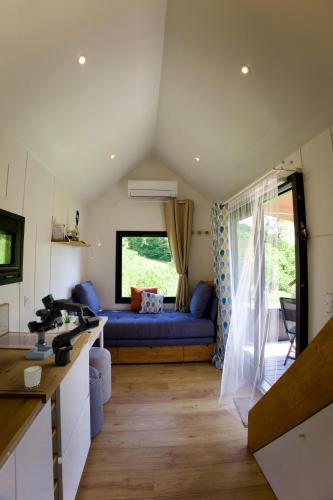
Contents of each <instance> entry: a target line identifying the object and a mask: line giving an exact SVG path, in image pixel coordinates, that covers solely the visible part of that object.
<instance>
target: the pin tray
mask: <svg viewBox="0 0 333 500" xmlns="http://www.w3.org/2000/svg"><path fill="white" fill-rule="evenodd" d="M53 355H55V354H54V353H53V350H52V345H46V346H43V347H36V346H35V347H32V348H31V349H29V350H27V351H25V359H27V360H42V361H44V360H46V359H48V358H49V357H51V356H53Z"/></svg>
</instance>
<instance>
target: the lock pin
mask: <svg viewBox="0 0 333 500" xmlns="http://www.w3.org/2000/svg"><path fill="white" fill-rule="evenodd" d="M42 330H43V331H42V332H41V333H39V334H38V335H37V342H36V343H35V344H34V345H35V347H43V346H48V342H46V339H45V338H46V335H45V334H46V332H45V327H43V329H42Z"/></svg>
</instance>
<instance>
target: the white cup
mask: <svg viewBox="0 0 333 500" xmlns="http://www.w3.org/2000/svg"><path fill="white" fill-rule="evenodd" d="M42 369H43V367H42V366H41V365H32V366H29V367H26V368H25V369H24V370H23V377H24V387H25V386H26V387H33V386H36V385H38V384H39V383H40V384H41V376H42V371H43V370H42ZM40 384H39V385H40Z"/></svg>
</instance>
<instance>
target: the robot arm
mask: <svg viewBox="0 0 333 500" xmlns="http://www.w3.org/2000/svg"><path fill="white" fill-rule="evenodd" d="M41 303H42V304H43V307H44V308H40V309H37V310H36V311H35V316H36V317H39V318H40V320H39V322H38V321H37V320H32V321H28V323H27V324H26V325H27V328H28V330H29V333H30V334H36V335H37V336H38V334H39V333H41V332H42V331H43V330H42V329H43V327H45V333H47V332H49V331H52V330H54V329H56V328H61V327H62V326H63V325H64V321H63V318H62V317H63V314H62V311H68V312H72V313H77V315H78V316H77V317H78V318H77V321H78V325H77V326H75V327H74V328H73V329H71V330H69V331H68V332H67V331H66V332H64V333H59V334H57V335H56V336H54V337H53V339H52V340H51V345H50V346H52V350H53V353H54V354H53V355H54V363H53V366H56V367H57V366H59V367H66V366H68V365H69V364H70V363H71V362H72V360H71V359H70V356H71V351H73V349H74V345H73V344H72V341H73V340H74V339H76V338H77V337H80V335H82V334H84V333H85V332H87V331H89V330H92V329H96V328H98V327H99V326H100V319H99V317H98V315H97V314H96V312H95V311H93V310H92V309H91V308H90V307H89V305H88V304H84V303H83V304H82V303H78V302H77V303H75V302H72V301H71V302H70V301H69V299H66V298H61V299H54V296H53V294H47V295H46V296H44V297H42V298H41ZM84 314H86V315H87V316H88V317H85V318H84V316H83V315H84Z"/></svg>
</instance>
